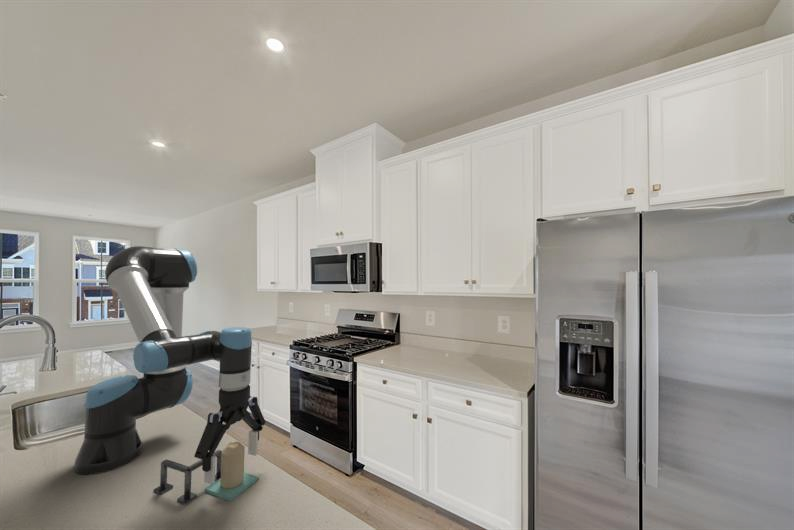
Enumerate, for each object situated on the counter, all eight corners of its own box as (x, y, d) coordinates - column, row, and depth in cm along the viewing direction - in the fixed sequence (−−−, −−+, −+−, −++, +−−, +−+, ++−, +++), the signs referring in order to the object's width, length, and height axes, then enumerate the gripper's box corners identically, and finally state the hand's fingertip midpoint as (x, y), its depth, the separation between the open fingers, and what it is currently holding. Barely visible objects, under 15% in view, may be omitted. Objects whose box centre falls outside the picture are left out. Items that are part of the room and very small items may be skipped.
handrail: (153, 491, 83) (154, 462, 83) (197, 466, 94) (198, 440, 94) (185, 504, 78) (186, 472, 78) (227, 476, 89) (228, 448, 90)
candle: (228, 492, 82) (229, 451, 82) (216, 484, 85) (217, 445, 85) (248, 480, 86) (249, 442, 87) (236, 473, 89) (237, 436, 90)
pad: (204, 491, 83) (204, 488, 83) (233, 472, 91) (233, 469, 91) (230, 501, 80) (230, 497, 80) (258, 479, 88) (258, 476, 88)
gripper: (201, 405, 73) (198, 501, 73) (279, 375, 97) (277, 447, 96) (179, 400, 76) (175, 492, 75) (259, 372, 99) (257, 442, 99)
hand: (232, 467), depth 86 cm, fingers open, 13 cm apart
